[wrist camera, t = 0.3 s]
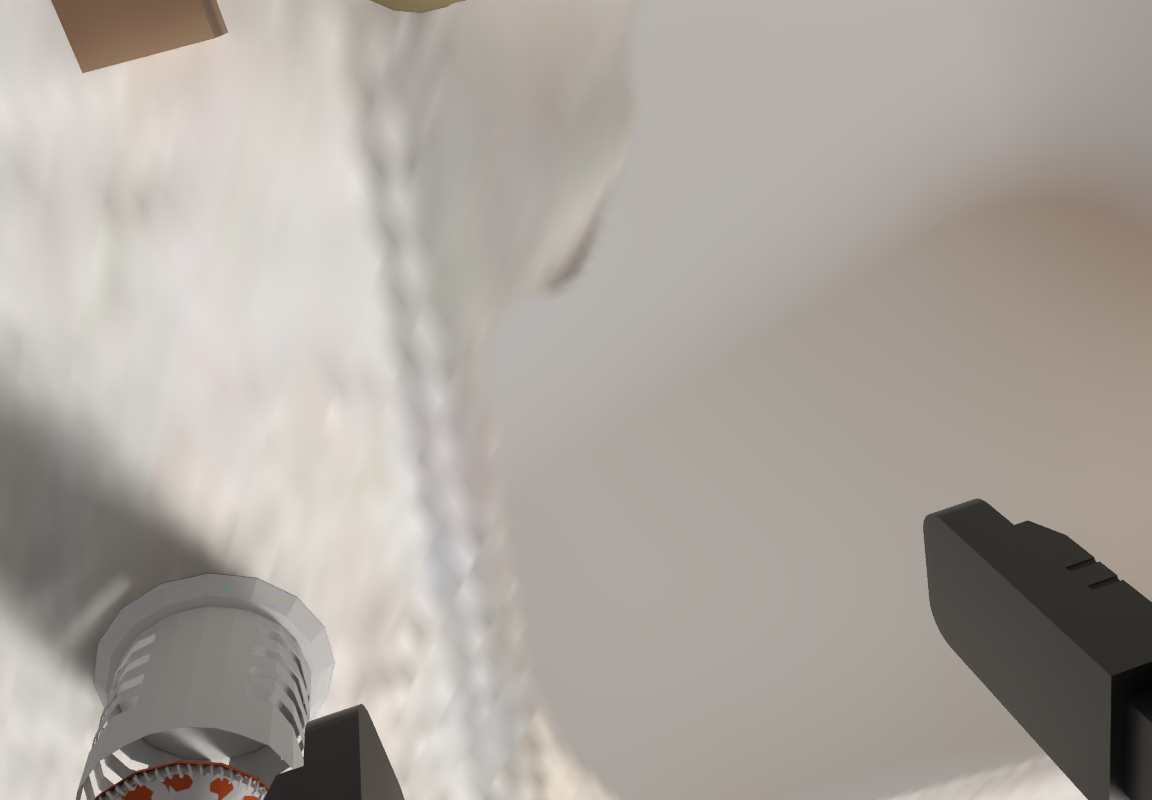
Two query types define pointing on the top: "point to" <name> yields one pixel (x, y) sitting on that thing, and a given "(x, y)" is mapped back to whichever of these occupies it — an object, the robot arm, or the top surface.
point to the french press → (207, 690)
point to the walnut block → (135, 27)
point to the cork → (415, 4)
